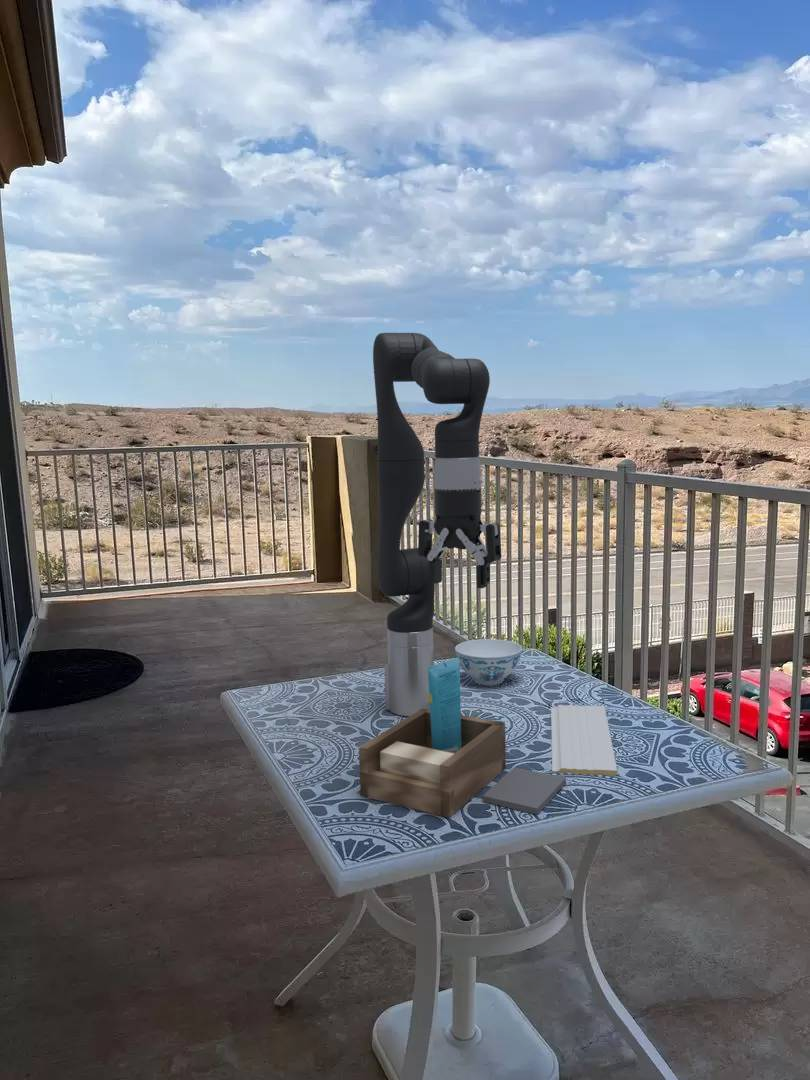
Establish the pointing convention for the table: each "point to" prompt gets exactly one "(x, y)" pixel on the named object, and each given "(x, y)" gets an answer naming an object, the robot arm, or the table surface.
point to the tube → (445, 705)
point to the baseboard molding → (581, 740)
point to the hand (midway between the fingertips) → (459, 585)
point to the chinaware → (488, 659)
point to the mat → (524, 790)
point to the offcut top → (413, 759)
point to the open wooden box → (457, 773)
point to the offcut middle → (409, 776)
